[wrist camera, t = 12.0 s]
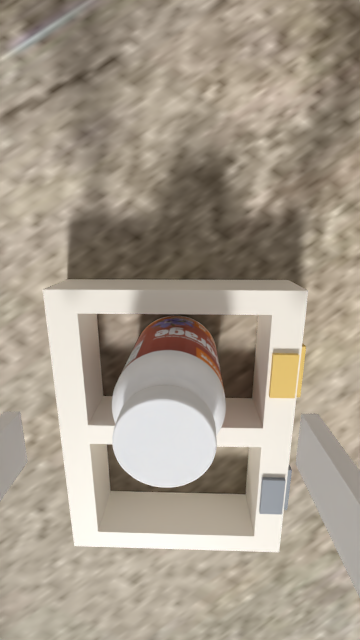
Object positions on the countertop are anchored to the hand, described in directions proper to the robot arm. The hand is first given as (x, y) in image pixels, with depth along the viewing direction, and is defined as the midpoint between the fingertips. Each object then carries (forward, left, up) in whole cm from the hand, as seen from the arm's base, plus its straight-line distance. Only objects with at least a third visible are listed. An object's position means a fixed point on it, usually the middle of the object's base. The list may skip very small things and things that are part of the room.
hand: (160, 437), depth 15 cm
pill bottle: (0, 0, -10) cm, 10 cm away
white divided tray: (0, -4, -10) cm, 11 cm away
